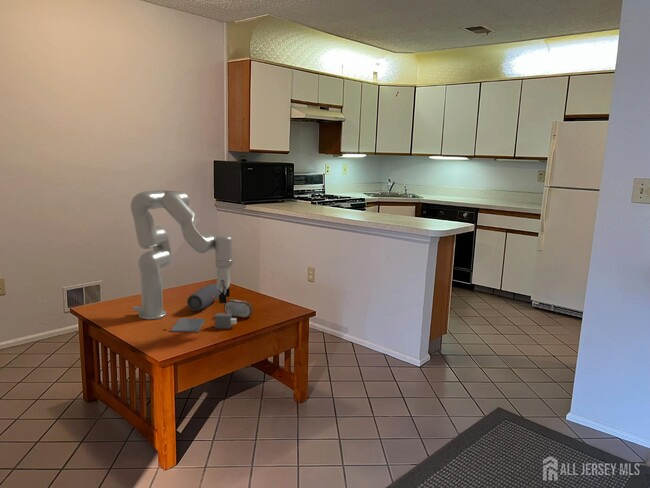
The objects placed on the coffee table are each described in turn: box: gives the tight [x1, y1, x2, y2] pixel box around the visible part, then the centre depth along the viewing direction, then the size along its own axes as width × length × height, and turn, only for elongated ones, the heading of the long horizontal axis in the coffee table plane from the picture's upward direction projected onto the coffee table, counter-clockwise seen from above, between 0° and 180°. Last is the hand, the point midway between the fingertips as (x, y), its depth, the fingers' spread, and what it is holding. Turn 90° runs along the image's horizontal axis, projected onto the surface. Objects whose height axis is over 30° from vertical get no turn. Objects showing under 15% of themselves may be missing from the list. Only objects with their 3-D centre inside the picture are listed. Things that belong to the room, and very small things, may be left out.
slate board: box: [170, 317, 206, 333], centre depth 221 cm, size 12×16×1 cm
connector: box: [214, 312, 238, 330], centre depth 221 cm, size 9×4×6 cm, turn 93°
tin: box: [223, 298, 254, 319], centre depth 236 cm, size 15×3×8 cm, turn 74°
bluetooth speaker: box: [186, 283, 220, 311], centre depth 249 cm, size 23×9×10 cm, turn 168°
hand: (224, 299), depth 219 cm, fingers open, 9 cm apart
